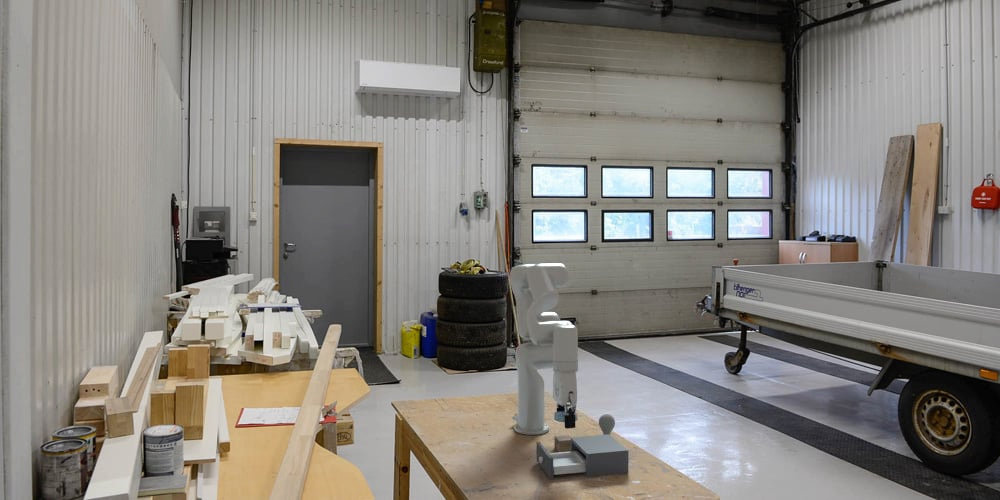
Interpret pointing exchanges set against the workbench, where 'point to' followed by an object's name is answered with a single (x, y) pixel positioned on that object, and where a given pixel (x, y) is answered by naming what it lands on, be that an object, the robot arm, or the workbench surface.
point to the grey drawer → (559, 461)
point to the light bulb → (606, 423)
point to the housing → (601, 455)
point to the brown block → (562, 443)
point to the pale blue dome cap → (562, 416)
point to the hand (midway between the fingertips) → (565, 423)
